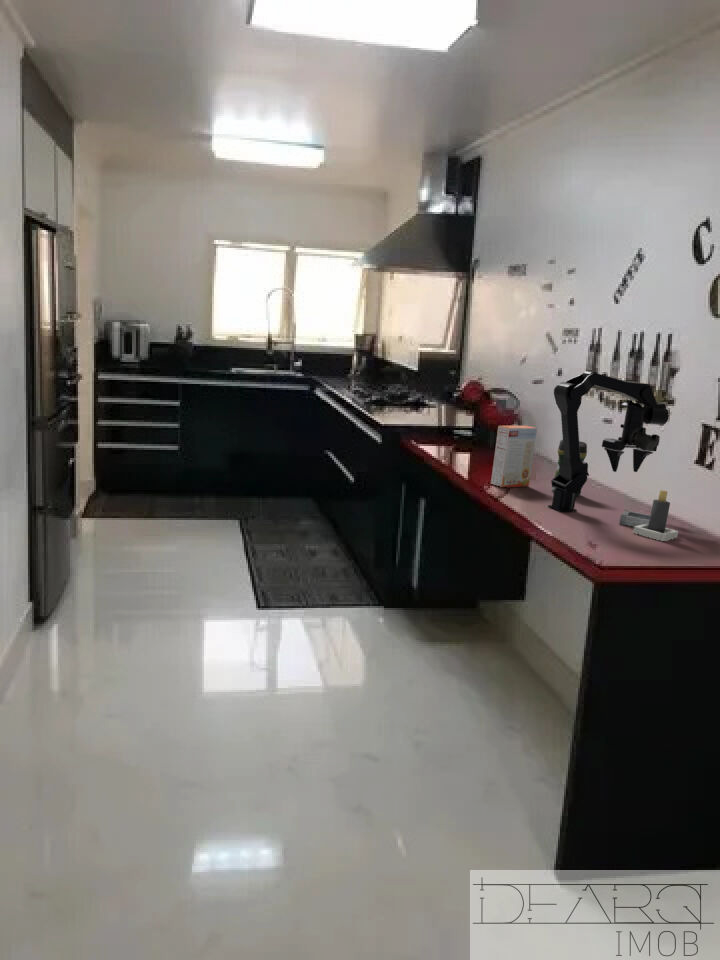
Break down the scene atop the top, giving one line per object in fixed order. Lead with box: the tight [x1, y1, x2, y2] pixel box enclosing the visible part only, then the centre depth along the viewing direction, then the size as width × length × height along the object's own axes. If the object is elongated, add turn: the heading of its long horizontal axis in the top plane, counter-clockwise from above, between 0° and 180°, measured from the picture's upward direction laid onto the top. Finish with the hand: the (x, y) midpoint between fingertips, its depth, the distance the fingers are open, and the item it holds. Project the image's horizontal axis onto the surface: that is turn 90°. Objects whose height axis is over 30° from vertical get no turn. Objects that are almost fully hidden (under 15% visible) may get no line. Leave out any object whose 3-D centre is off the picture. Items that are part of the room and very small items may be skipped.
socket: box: [632, 523, 679, 542], centre depth 226 cm, size 9×9×2 cm
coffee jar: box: [551, 439, 588, 497], centre depth 273 cm, size 10×8×19 cm
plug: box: [648, 489, 671, 533], centre depth 225 cm, size 5×5×13 cm
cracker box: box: [490, 425, 538, 488], centre depth 275 cm, size 14×6×21 cm, turn 127°
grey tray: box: [619, 509, 651, 528], centre depth 237 cm, size 12×9×3 cm
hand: (625, 471), depth 252 cm, fingers open, 9 cm apart
